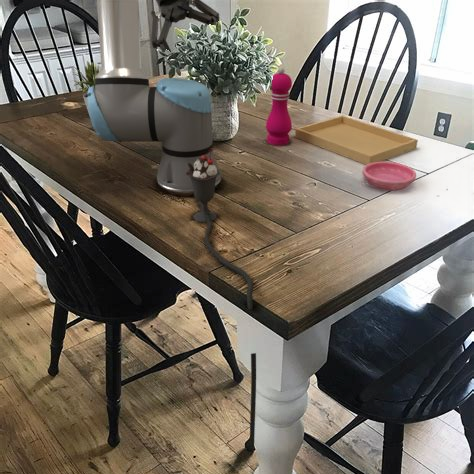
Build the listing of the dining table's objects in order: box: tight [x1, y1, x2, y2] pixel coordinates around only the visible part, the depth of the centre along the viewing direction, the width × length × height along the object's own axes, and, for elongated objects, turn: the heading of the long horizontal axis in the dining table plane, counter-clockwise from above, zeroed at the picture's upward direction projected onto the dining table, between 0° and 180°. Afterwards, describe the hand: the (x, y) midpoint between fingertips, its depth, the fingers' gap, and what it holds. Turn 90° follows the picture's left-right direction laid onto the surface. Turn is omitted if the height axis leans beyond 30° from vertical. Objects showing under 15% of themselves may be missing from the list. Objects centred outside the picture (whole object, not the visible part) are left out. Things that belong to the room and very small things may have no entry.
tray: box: [294, 115, 419, 166], centre depth 153 cm, size 28×20×2 cm
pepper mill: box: [265, 66, 293, 146], centre depth 149 cm, size 7×7×20 cm
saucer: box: [361, 161, 417, 192], centre depth 130 cm, size 12×12×3 cm
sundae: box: [186, 147, 221, 223], centre depth 112 cm, size 7×7×15 cm
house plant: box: [69, 60, 100, 117], centre depth 171 cm, size 14×14×16 cm
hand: (197, 53), depth 150 cm, fingers open, 13 cm apart
